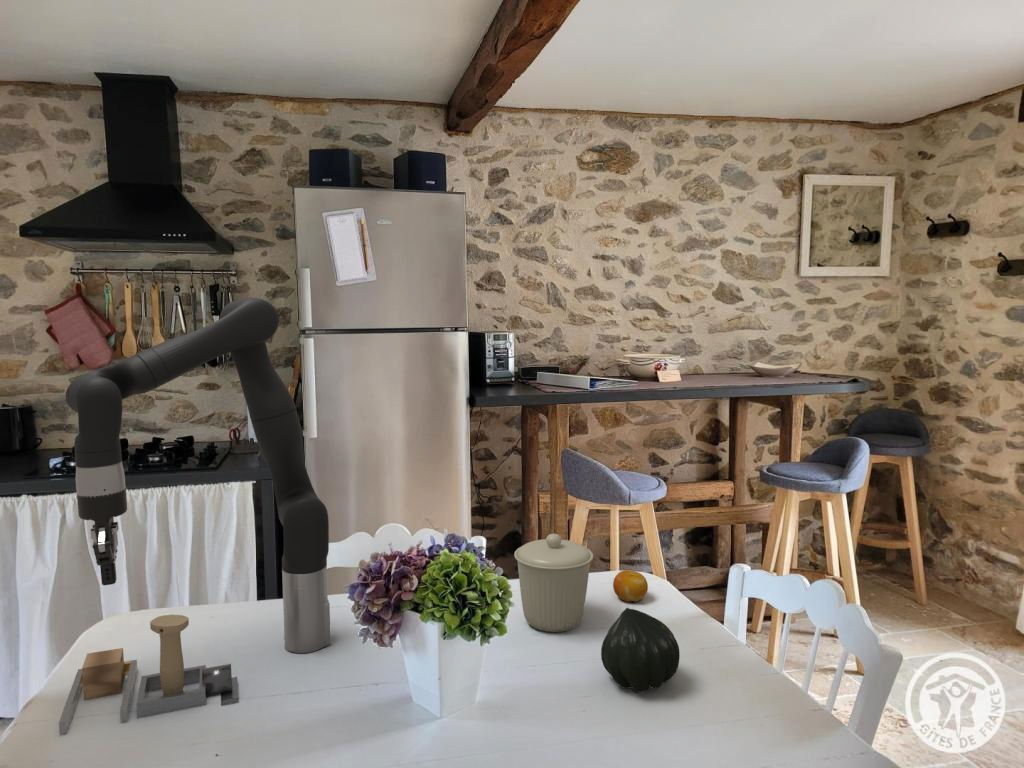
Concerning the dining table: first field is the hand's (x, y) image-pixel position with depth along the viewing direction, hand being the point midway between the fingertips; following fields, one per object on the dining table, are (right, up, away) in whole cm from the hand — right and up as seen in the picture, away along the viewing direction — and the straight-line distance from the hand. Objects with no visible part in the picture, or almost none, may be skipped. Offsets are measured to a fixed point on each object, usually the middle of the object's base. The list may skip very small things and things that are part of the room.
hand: (109, 583), depth 128 cm
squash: (+97, -23, +12) cm, 100 cm away
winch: (+12, -23, +4) cm, 27 cm away
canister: (+82, -20, +38) cm, 92 cm away
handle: (+10, -22, +3) cm, 25 cm away
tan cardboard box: (-4, -22, +6) cm, 23 cm away
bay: (-3, -23, +2) cm, 24 cm away
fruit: (+102, -19, +52) cm, 116 cm away
